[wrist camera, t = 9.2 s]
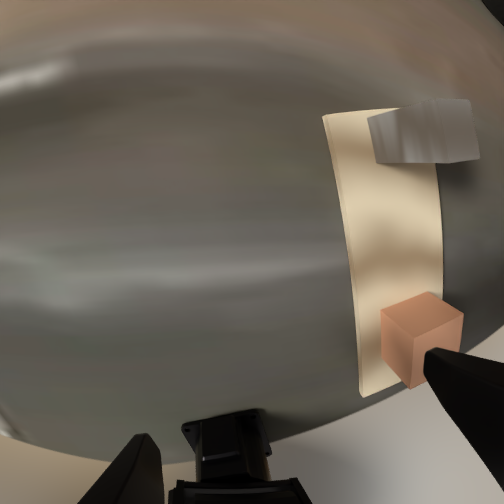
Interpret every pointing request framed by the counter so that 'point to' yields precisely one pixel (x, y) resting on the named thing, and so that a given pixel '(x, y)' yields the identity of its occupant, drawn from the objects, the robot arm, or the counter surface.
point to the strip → (394, 209)
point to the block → (417, 334)
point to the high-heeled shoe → (496, 8)
